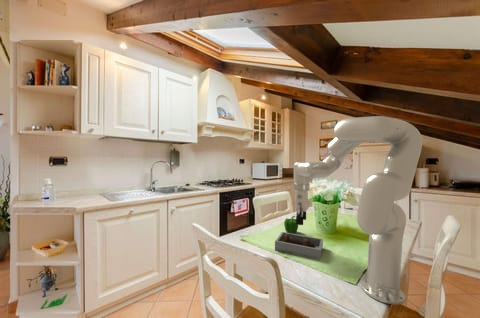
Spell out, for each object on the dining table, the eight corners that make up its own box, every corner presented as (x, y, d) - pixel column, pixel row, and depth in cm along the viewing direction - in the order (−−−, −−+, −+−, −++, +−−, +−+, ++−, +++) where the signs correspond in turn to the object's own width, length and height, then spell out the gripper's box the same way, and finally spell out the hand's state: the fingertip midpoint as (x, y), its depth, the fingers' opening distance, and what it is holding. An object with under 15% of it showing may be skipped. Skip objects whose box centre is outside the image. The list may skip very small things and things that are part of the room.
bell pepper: (288, 235, 126) (289, 218, 125) (281, 230, 134) (282, 214, 133) (301, 234, 128) (302, 217, 128) (294, 229, 136) (294, 213, 136)
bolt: (314, 254, 106) (283, 246, 112) (315, 245, 109) (285, 238, 116) (314, 246, 103) (283, 239, 109) (316, 237, 107) (285, 231, 113)
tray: (320, 260, 98) (320, 250, 98) (274, 250, 107) (275, 241, 107) (322, 247, 111) (323, 239, 111) (281, 239, 120) (282, 231, 120)
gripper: (306, 189, 98) (306, 228, 98) (311, 185, 114) (311, 218, 114) (290, 188, 102) (289, 225, 102) (296, 184, 117) (296, 216, 117)
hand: (301, 221), depth 108 cm, fingers open, 9 cm apart
